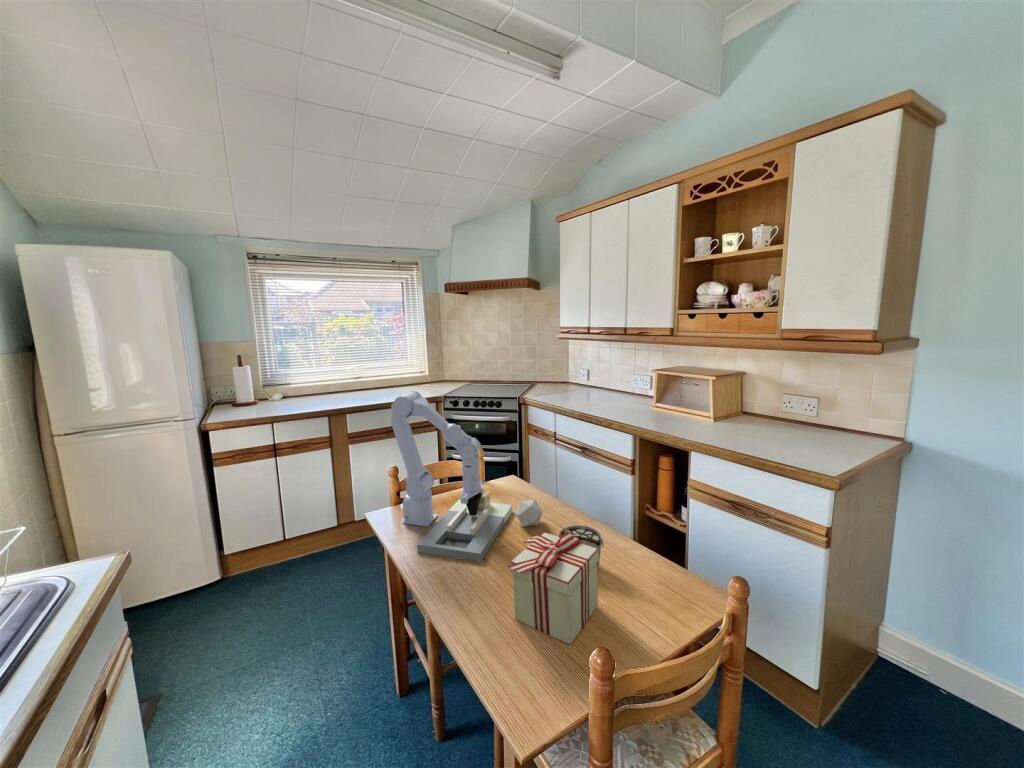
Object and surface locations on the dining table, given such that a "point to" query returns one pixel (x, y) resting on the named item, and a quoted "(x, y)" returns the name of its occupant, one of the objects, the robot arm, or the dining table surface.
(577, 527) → the dark grey curved piece
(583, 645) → the dining table surface
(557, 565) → the gift box
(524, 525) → the die
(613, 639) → the dining table surface
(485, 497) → the maple block
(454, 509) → the trap deck
